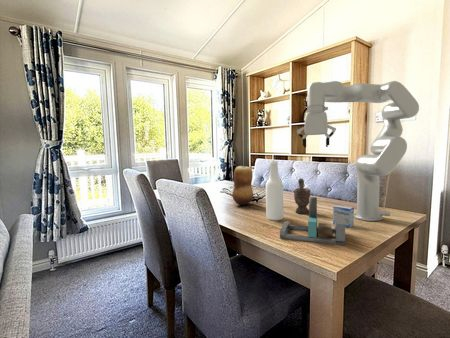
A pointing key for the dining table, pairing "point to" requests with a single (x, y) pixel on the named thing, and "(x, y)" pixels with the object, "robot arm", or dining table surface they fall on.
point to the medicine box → (344, 214)
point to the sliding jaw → (312, 217)
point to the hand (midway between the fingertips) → (315, 147)
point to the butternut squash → (242, 185)
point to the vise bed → (338, 231)
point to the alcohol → (274, 194)
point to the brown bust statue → (302, 198)
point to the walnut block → (324, 230)
